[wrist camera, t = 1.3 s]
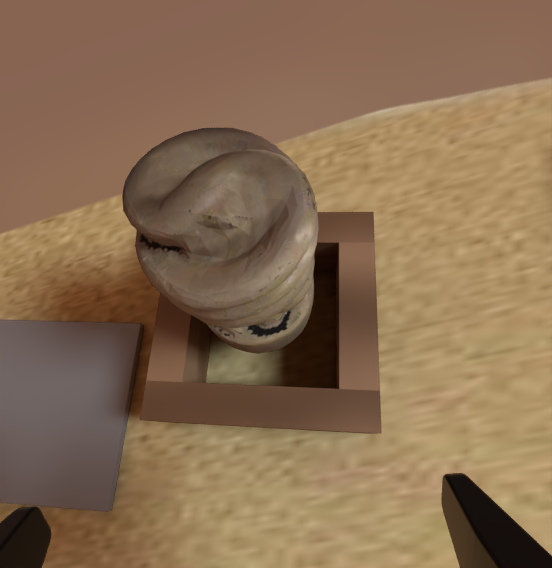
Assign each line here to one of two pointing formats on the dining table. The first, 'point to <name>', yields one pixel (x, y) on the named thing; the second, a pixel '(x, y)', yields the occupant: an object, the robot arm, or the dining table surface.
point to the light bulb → (227, 234)
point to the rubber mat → (64, 410)
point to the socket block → (277, 399)
